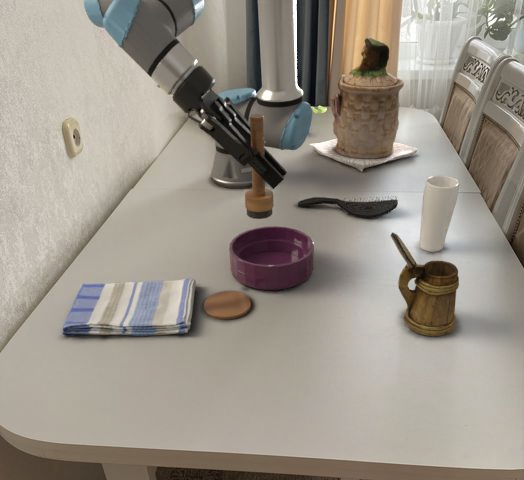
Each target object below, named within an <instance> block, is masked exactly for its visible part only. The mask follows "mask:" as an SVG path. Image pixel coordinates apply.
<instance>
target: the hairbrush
mask: <svg viewBox="0 0 524 480" xmlns="http://www.w3.org/2000/svg"><path fill="white" fill-rule="evenodd" d="M381 197H382V198H381V200H380V197H379V198H378V196H376V197H373V198H372V197H369V199H368V198H367V197H364V198H363V200H362V198H357V199H356V198H354V201H353V200H352V199H350V197H349V198H348V199H349V200H346V197H344V199H340V198H336V197H335V198H334V197H325V196H321V197H320V196H314V197H309V198H304V199H302V200H298V202H297V206H298V207H303V208H304V207H310V206H317V205H336V206H337V207H339V208H340V209H342V210H343V211H344V212H345V213H347V214H348V215H350V216H353V217H355V218H359V219H373V218H379V217H382V216H385V215H388V214H390V213H391V212H393V211H394V210H395V209H396V208H397V207H398V205H399V200H398V199H397V197H395V195H392V198H391V199H390V196H389V195H387V196H385V197H383V196H381ZM374 198H375V199H374ZM386 198H387V199H386ZM394 198H395V199H394ZM359 199H360V200H359ZM367 200H368V201H367ZM370 200H371V201H370Z"/></svg>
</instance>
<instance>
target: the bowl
mask: <svg viewBox="0 0 524 480" xmlns="http://www.w3.org/2000/svg"><path fill="white" fill-rule="evenodd" d="M228 252H229V263H230V272H231V274H232V277H233V278H234V279H235V280H236V281H238V282H239V283H241V284H243V285H245V286H248V287H250V288H253V289H256V290H262V291H279V290H286V289H291V288H292V287H295V286H297V285H300V284H301V283H303V282H305V281H307V280H308V279H309V278H310V277H311V276H312V273H313V271H314V261H315V259H314V258H315V243H314V241H313V239H312V238H311V237H310V235H308V234H307V233H305V232H303V231H301V230H298V229H295V228H292V227H286V226H279V225H278V226H261V227H255V228H252V229H247V230H244V231H243V232H241V233H239V234H237V235H236V236H234V237H233V239H232V240H231V241H230V243H229V249H228Z"/></svg>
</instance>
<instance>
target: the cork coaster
mask: <svg viewBox="0 0 524 480" xmlns="http://www.w3.org/2000/svg"><path fill="white" fill-rule="evenodd" d="M251 307H252V302H251V299H250V298H249V296H248V295H246V294H244V293H242V292H240V291H233V290H226V291H225V290H224V291H219V292H216V293H213V294H211V295H210V296H208V297H207V298H206V299H205V301H204V304H203V308H204V312H205V313H206V314H207V315H208V316H209V317H211V318H214V319H217V320H223V321H224V320H225V321H226V320H235V319H238V318H241V317H243V316H245V315H246V314H247V313H248V312H250V310H251Z"/></svg>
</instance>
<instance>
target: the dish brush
mask: <svg viewBox="0 0 524 480" xmlns="http://www.w3.org/2000/svg"><path fill="white" fill-rule="evenodd" d="M250 133H251V147H252V148H253V149H254V150H255V151H256V153H258V152H260V153H261V154H262V155H263V156H264V157H265V153H264V148H265V146H264V116H263V115H261V114H254V115H251V116H250ZM244 207H245V209H246V216H247V217H249V218H250V219H254V220H263V219H268V218H270V217H271V216H273V208H274V192H273V191H272V190H271V189H268V188H266V181H265V180H264V179H263V178H262V177H261V176H260V175H259V174H258V173H257V172H256V171H255V170H254V169H253V168H252V186H251V189H249V190H247V191H245V192H244Z"/></svg>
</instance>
